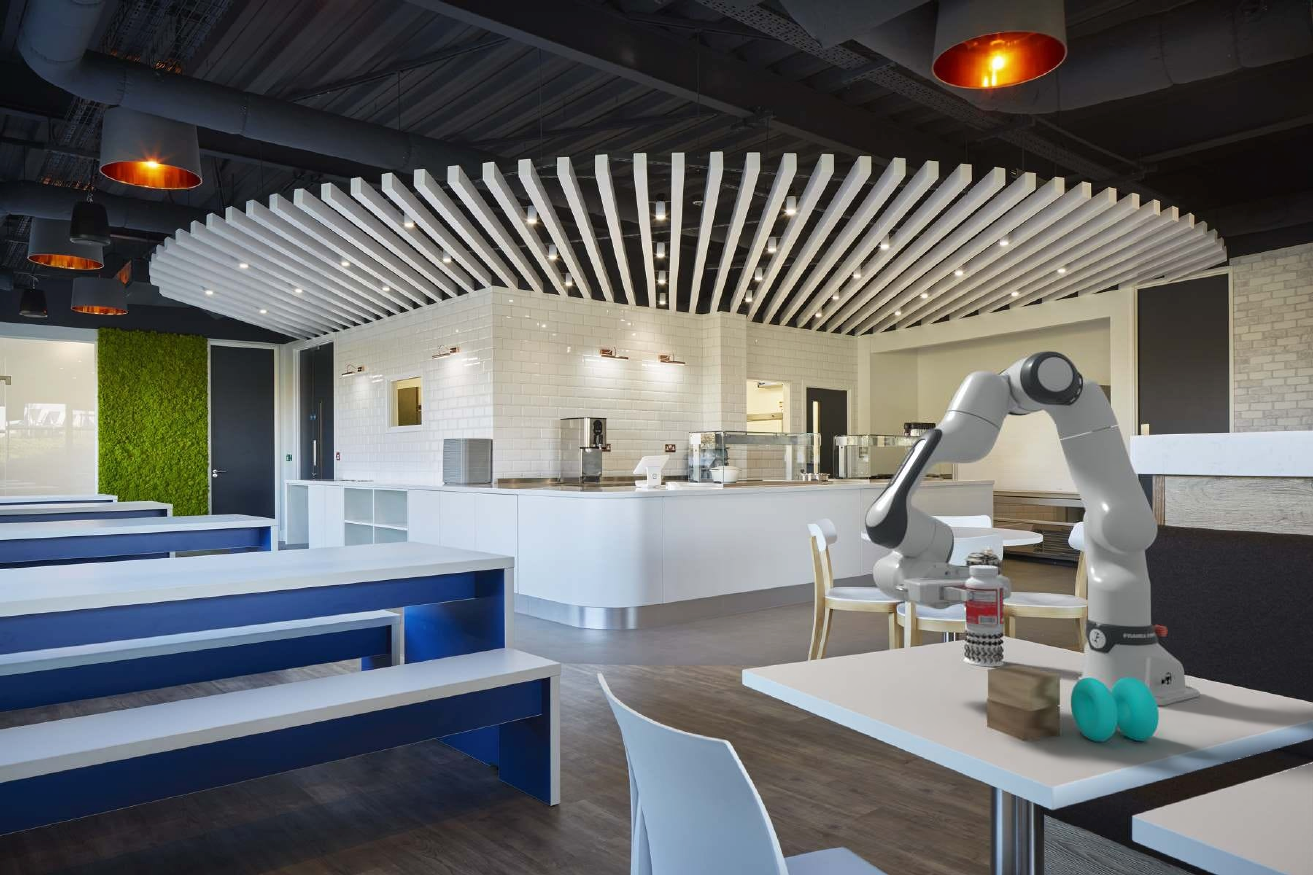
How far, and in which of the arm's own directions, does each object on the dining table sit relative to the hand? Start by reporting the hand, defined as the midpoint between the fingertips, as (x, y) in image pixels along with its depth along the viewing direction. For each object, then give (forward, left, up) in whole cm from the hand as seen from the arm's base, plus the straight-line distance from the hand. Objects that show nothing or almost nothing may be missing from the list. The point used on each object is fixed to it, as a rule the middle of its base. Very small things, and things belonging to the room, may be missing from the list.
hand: (988, 594), depth 145 cm
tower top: (-4, +4, -18) cm, 18 cm away
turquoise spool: (-15, +13, -23) cm, 30 cm away
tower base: (-4, +4, -23) cm, 23 cm away
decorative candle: (-34, -38, -23) cm, 56 cm away
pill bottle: (0, -1, -6) cm, 6 cm away
